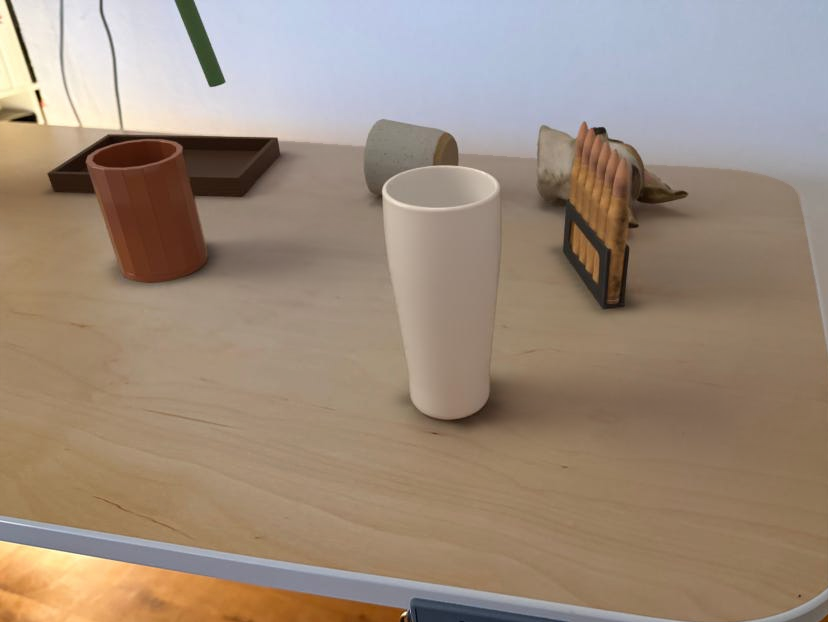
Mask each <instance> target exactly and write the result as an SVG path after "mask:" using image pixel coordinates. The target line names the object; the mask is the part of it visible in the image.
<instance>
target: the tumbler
mask: <svg viewBox="0 0 828 622" xmlns="http://www.w3.org/2000/svg"><path fill="white" fill-rule="evenodd" d="M86 165H87V168H88V171H89V174H90V177H91V180H92V184H93V187H94V190H95V193H94V194H95V196H96V199H97V202H98V205H99V208H100V212H101V215H102V219H103V221H104V224H105V227H106V230H107V234H108V237H109V240H110V244H111V247H112V249H113V253H114V255H115V259H116V262H117V265H118V267H119V269H120V273H121V274H122V275H123V276H124V278H127V279H129V280H131V281H135V282H141V283H161V282H167V281H172V280H177V279H179V278H183V277H185V276H188V275H191V274H193V273H194V272H197V271H198V270H200V269H201V268H202V267H203V266H205V264H206V263H207V262H208V260H209V253H208V250H207V243H206V238H205V235H204V231H203V226H202V222H201V218H200V214H199V210H198V206H197V201H196V199H195V198H196V197H195V195H194V193H193V188H192V184H191V180H190V176H189V172H188V168H187V163H186V159H185V155H184V151H183V147H182V146H181V145H180V144H178V143H177V142H174V141H169V140H163V139H142V140H132V141H126V142H121V143H116V144H112V145H109V146H106V147H103V148H101V149H98V150H96V151H94V152H93V153H91V154H90V155H88V157H87V160H86Z"/></svg>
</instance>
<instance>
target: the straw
mask: <svg viewBox="0 0 828 622" xmlns="http://www.w3.org/2000/svg"><path fill="white" fill-rule="evenodd" d="M174 3H175V6H176V8H177V11H178V12H179V15H180V17H181V20H182V23H183V26H184V28H185V30H186V33H187V34H188V37H189V40H190V43H191V46H192V48H193V50H194V53H195V55H196V58H197V60H198V63H199V65H200V67H201V70H202V72H203V74H204V78H205V80H206V82H207V85H208V87H209V88H214V87H215V88H216V87H219V86H222V85H224V84H225V83H226V79H225V76H224V74H223V71H222V68H221V66H220V63H219V61H218V59H217V56H216V53H215V51H214V48H213V46H212V43H211V41H210V38H209V35H208V32H207V30H206V28H205V24H204V23H203V20H202V18H201V15H200V13H199V9H198V7H197V4H196V1H195V0H174Z"/></svg>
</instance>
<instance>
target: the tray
mask: <svg viewBox="0 0 828 622" xmlns="http://www.w3.org/2000/svg"><path fill="white" fill-rule="evenodd" d="M142 139H163V140H169V141H174V142H177V143H178V144H180V145H181V146H182V147H183V151H184V155H185V159H186V163H187V168H188V172H189V176H190V180H191V184H192V188H193V193H194V196H209V197H210V196H211V197H212V196H213V197H243V196H244V195H245V194H246V193H247V192H248V191H249V190H250V189H251V188H252V187H253V185H254V184H255V183H256V182H257V181H258V180H259V179H260V178H261V177H262V175H263V174H264V173H266V171H267V170H268V169H269V168H270V166H272V164H273V163H274V162H275V161H276V160H277V159H278V158H279V157H280V156H281V151H280V144H279V139H278V137H274V136H272V137H269V136H268V137H267V136H227V135H226V136H223V135H222V136H221V135H219V136H218V135H171V134H169V135H167V134H166V135H165V134H118V133H108V134H106V135H105V136H103V137H102V138H100V139H98V140H97V141H95V142H94V143H92V144H91V145H89V146H87V147H86V148H84V149H83V150H81V151H80V152H78V153H77V154H75V155H73V156H72V157H70V158H68V159H67V160H66V161H64V162H63V163H61V164H60V165H57V166H56V167H55V168H53V169H52V170H50V171H48V172H47V177H48V180H49V183H50V186H51V188H52V191H53V192H55V193H57V192H58V193H91V194H92V193H94V194H96V193H95V190H94V187H93V184H92V180H91V177H90V174H89V171H88V168H87V165H86V160H87V157H88V155H90V154H91V153H93V152H94V151H96V150H98V149H101V148H103V147H106V146H109V145H112V144H116V143H121V142H126V141H132V140H142Z"/></svg>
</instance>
